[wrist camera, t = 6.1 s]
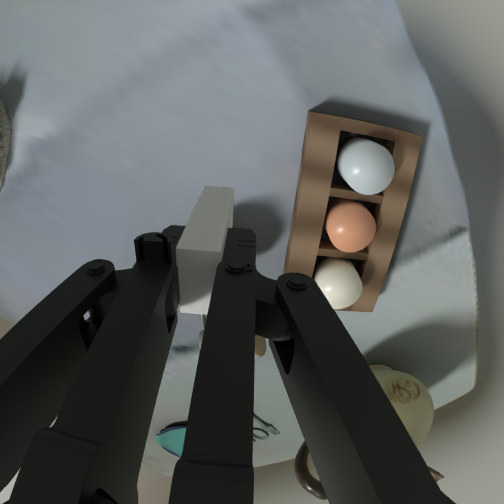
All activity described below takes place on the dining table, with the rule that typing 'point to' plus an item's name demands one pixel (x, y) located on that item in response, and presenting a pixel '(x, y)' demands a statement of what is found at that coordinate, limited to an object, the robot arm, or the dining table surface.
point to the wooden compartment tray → (321, 187)
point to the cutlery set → (175, 437)
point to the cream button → (338, 281)
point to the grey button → (365, 165)
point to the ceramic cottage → (4, 141)
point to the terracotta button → (349, 224)
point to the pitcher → (407, 407)
